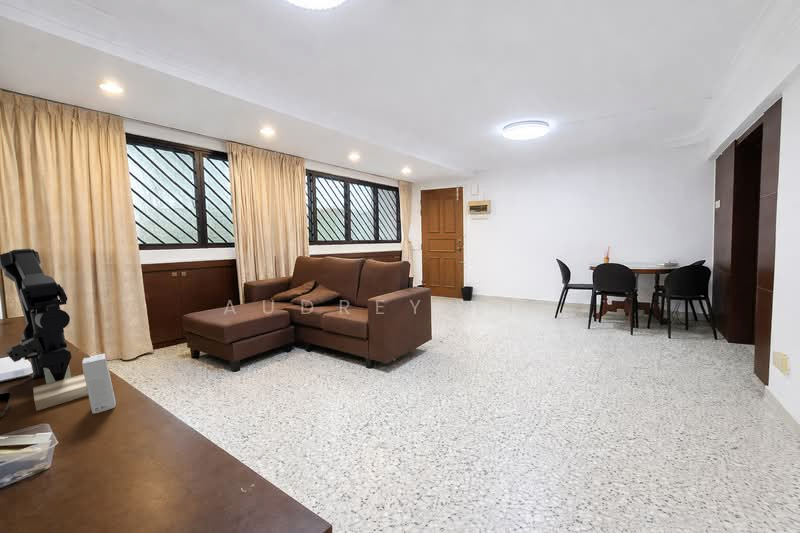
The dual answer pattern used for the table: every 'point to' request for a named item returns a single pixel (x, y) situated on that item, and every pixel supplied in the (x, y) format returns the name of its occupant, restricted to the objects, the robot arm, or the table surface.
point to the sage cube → (50, 378)
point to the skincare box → (98, 383)
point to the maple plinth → (60, 392)
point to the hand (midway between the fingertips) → (58, 380)
